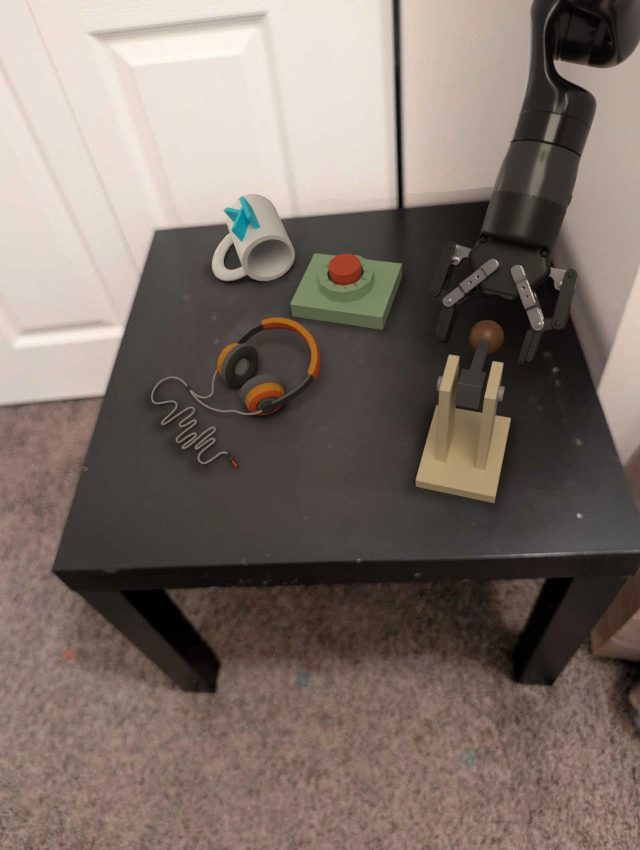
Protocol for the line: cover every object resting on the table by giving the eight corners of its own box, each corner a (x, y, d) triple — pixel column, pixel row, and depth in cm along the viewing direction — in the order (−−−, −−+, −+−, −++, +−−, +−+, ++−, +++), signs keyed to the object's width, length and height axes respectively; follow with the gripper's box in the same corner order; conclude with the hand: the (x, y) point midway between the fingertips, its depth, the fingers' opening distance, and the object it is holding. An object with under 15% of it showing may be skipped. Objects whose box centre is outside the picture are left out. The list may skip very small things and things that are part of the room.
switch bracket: (436, 411, 74) (439, 330, 64) (509, 424, 72) (525, 342, 62) (415, 486, 69) (415, 411, 59) (494, 503, 67) (508, 427, 56)
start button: (365, 266, 85) (364, 255, 83) (356, 287, 82) (355, 276, 81) (335, 262, 86) (333, 251, 84) (325, 283, 84) (324, 272, 82)
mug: (245, 164, 90) (267, 214, 83) (281, 210, 97) (304, 259, 90) (178, 216, 93) (193, 268, 85) (217, 256, 100) (235, 308, 92)
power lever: (469, 342, 73) (473, 312, 71) (503, 347, 72) (508, 317, 70) (446, 409, 62) (450, 375, 60) (485, 416, 61) (490, 382, 59)
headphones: (129, 384, 78) (262, 279, 80) (152, 406, 83) (278, 306, 84) (195, 481, 69) (344, 361, 71) (217, 499, 74) (356, 386, 75)
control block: (402, 276, 88) (401, 252, 85) (382, 330, 83) (381, 306, 79) (316, 265, 91) (312, 242, 88) (292, 316, 86) (287, 293, 83)
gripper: (454, 176, 66) (408, 335, 70) (601, 204, 61) (544, 375, 65) (469, 192, 73) (427, 336, 77) (604, 219, 68) (552, 372, 72)
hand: (481, 354), depth 71 cm, fingers open, 8 cm apart
